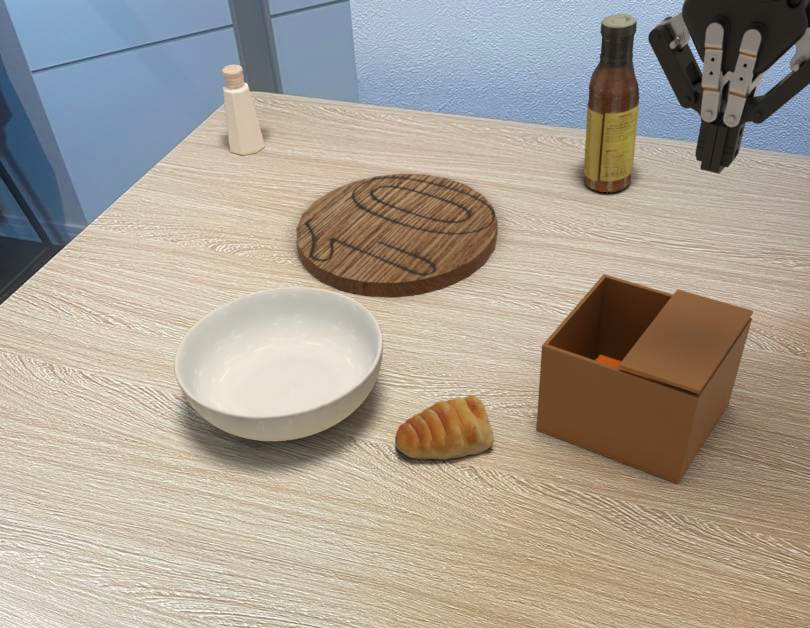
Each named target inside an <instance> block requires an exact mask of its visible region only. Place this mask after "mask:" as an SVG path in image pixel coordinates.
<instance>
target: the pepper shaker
mask: <svg viewBox="0 0 810 628" xmlns="http://www.w3.org/2000/svg"><path fill="white" fill-rule="evenodd" d="M221 71H222V75H223V79H224V82H225V85H224V86H223V87H222V91H223V92H222V93H223V100H224V110H225V120H226V129H227V137H228V147H229V151H230V153H231V154H236V155H239V156H247V155H253V154H257V153H259V152H260V151H261V150H263V149H264V148H265V147H266V144H265V141H264V137H263V133H262V130H261V126H260V122H259V119H258V115H257V113H256V108H255V104H254V101H253V98H252V94H251V91H250V88H249V85H248V82H245V80H244V73H243V72H244V69H243V67H242V66H241V65H239V64H229V65H227V66H224V67H223V68H222V70H221Z"/></svg>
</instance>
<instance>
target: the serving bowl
mask: <svg viewBox="0 0 810 628" xmlns="http://www.w3.org/2000/svg"><path fill="white" fill-rule="evenodd" d="M382 331H383V330H382V328H381V325H380V324H379V321H378V320H377V318H376V317H375V315H373V313H372V312H371V311H370V309H368V308H367V307H366V306H364V305H363V304H362V303H360V302H359V301H358V300H356V299H353V298H352V297H350V296H348V295H346V294H344V293H340V292H336V291H333V290H330V289H323V288H318V287H309V286H283V287H274V288H273V287H272V288H269V289H264V290H258V291H255V292H251V293H247V294H245V295H241V296H238V297H235V298H233V299H231V300H229V301H227V302H225V303H222V304H220V305H219V306H217V307H214V308H213V309H212V310H211V311H209V312H207V313H206V314H205V315H204V316H202V317H201V318H200V319H198V320H197V321H196V322H195V323H194V324H193V325H192V326H190V328H189V330H188V331H187V332H186V333H185V334H184V336H183V338H182V339H181V341H180V342H179V344H178V346H177V349H176V351H175V354H174V361H173V371H174V372H173V373H174V376H175V380H176V382H177V384H178V386H179V388H180V390H181V392H182V394H183V395H184V398H185V399H186V400H187V402H188V403H189V404H190V406H191V407H192V408H193V409H194V410H195V412H196V413H197V414H198V415H199V416H201V417H202V418H203V419H204V420H205V421H207V422H208V423H210V425H212V426H214V427H215V428H217V429H219V430H221V431H223V432H226V433H228V434H230V435H233V436H236V437H240V438H243V439H248V440H254V441H260V442H284V441H285V442H286V441H292V440H298V439H303V438H307V437H310V436H313V435H316V434H318V433H321V432H323V431H326V430H328V429H330V428H332V427H334V426H336V425H337V424H339V423H341V422H342V421H344V420H345V419H347V418H348V417H349V416H351V415H352V414H353V413H354V412H355V411H356V410H357V409H358V408H359V407H360V406H361V405H362V404H363V403H364V401H366V399H367V397H368V396H369V394H371V391H372V390H373V388H374V387H375V384H376V382H377V380H378V377H379V375H380V371H381V366H382V362H383V354H384V336H383V332H382Z"/></svg>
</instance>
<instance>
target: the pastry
mask: <svg viewBox="0 0 810 628" xmlns="http://www.w3.org/2000/svg"><path fill="white" fill-rule="evenodd" d="M394 438H395V439H394V444H395V446H396V448H397V450H398V451H399V452H400V453H402V454H403V455H405V456H406V457H408V458H411V459H416V460H425V461H427V460H429V459H431V460H439V461H443V460H444V461H445V460H446V461H447V460H449V459H450V460H451V459H459V458H464V457H466V456H470V455H472V456H474V455H479V454H482V453H483V452H486V451H487V450H488V449H489V448H491V447H492V446H493V445H494V443H495V437H494V431H493V428H492V425H491V423H490V420H489V415H488V412H487V410H486V407H485V405H484V402H483V401H482V400H481V399H480V398H479V397H478V396H476V395H474V394H470V395H467V396H465V397H462V398H451V399H447V400H441V401H437V402H435V403H434V404H432V405H431V406H429V407H426V408H425V409H423V410H422V411H421V412H419V413H417V414H414V415H413V416H411V417H409V418H408V419H406V420H405V422H403V423H402V424H400V425H398V428H397V430H396V432H395V436H394Z"/></svg>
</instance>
